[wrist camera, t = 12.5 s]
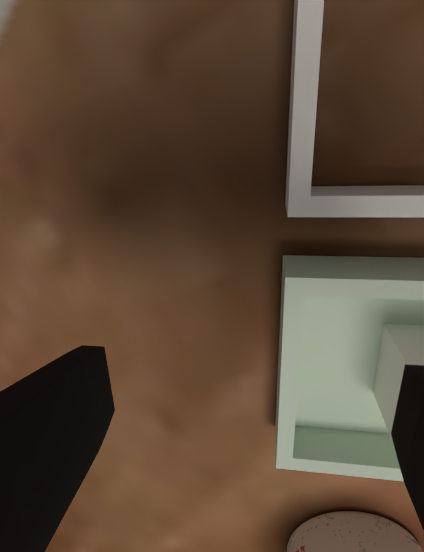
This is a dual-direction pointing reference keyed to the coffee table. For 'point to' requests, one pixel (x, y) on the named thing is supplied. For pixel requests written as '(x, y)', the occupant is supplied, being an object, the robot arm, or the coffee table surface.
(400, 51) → the coffee table surface
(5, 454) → the robot arm
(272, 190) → the coffee table surface
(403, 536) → the teacup with lid
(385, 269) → the green bin
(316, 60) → the bin
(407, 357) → the cream block
